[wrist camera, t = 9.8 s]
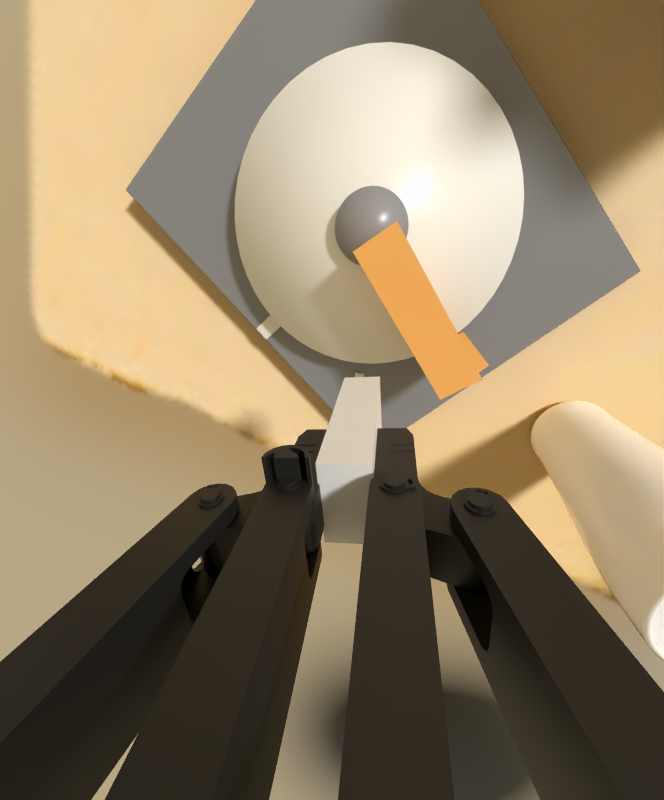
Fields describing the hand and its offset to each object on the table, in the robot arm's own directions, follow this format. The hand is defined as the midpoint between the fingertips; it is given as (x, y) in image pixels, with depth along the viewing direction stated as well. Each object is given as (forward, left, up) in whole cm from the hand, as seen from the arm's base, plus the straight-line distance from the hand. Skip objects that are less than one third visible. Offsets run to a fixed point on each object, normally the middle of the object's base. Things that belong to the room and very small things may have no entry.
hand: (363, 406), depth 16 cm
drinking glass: (-15, -7, -12) cm, 20 cm away
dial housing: (+5, -5, -12) cm, 14 cm away
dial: (+5, -4, -10) cm, 12 cm away
